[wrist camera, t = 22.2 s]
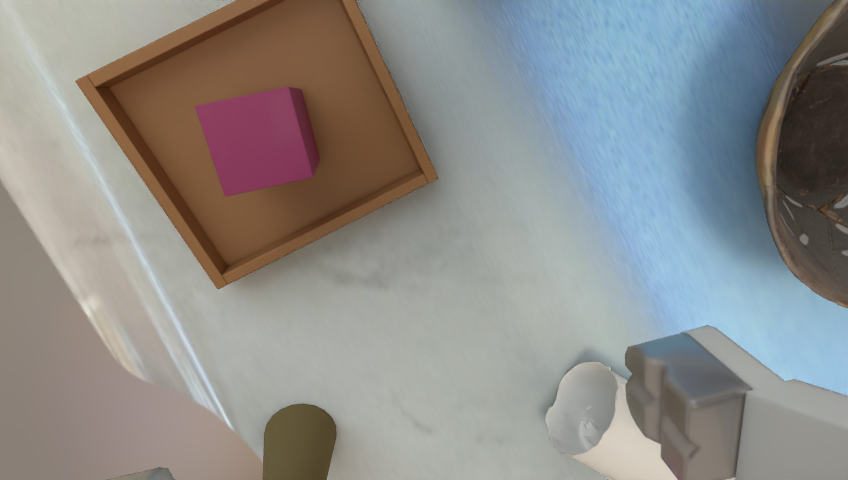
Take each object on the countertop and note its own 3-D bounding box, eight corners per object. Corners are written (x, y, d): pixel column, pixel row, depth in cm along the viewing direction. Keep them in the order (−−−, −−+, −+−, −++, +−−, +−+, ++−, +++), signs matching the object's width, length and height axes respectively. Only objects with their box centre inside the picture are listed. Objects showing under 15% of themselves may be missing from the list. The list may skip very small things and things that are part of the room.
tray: (334, -37, 32) (333, -48, 30) (432, 173, 37) (438, 178, 35) (95, 81, 32) (74, 80, 30) (226, 277, 37) (217, 289, 35)
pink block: (301, 88, 34) (288, 86, 26) (320, 159, 35) (313, 177, 28) (228, 103, 33) (194, 105, 26) (251, 175, 35) (224, 197, 27)
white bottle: (665, 487, 50) (722, 557, 43) (530, 410, 45) (568, 475, 37) (717, 430, 49) (784, 491, 42) (584, 344, 44) (634, 396, 36)
